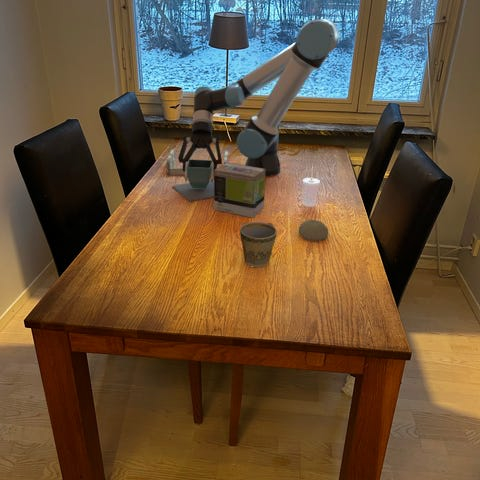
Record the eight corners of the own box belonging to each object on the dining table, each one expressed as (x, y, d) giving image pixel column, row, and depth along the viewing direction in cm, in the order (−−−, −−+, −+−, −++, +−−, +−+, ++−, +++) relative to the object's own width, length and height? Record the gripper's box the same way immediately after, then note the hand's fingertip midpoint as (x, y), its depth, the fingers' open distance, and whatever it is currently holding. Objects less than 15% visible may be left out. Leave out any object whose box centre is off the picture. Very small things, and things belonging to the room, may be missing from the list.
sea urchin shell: (311, 241, 138) (302, 216, 140) (299, 249, 145) (291, 225, 147) (336, 235, 142) (327, 211, 143) (323, 243, 149) (315, 220, 150)
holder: (172, 161, 204) (171, 148, 201) (227, 163, 204) (228, 150, 202) (167, 174, 190) (166, 160, 187) (226, 176, 190) (226, 162, 187)
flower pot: (210, 191, 171) (210, 167, 166) (186, 190, 171) (186, 166, 166) (212, 182, 178) (212, 160, 174) (189, 181, 178) (189, 159, 174)
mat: (228, 194, 173) (228, 193, 172) (189, 202, 165) (189, 200, 165) (209, 180, 185) (209, 179, 185) (172, 187, 178) (172, 185, 177)
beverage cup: (320, 204, 167) (325, 167, 161) (310, 208, 163) (315, 171, 157) (306, 199, 171) (310, 162, 165) (296, 203, 167) (300, 166, 161)
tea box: (264, 208, 163) (266, 168, 156) (253, 219, 155) (255, 177, 148) (226, 200, 168) (226, 161, 161) (213, 210, 160) (213, 169, 153)
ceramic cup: (263, 275, 124) (265, 242, 119) (231, 264, 128) (232, 231, 124) (285, 255, 134) (288, 224, 129) (255, 245, 138) (257, 215, 133)
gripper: (230, 131, 180) (228, 185, 173) (175, 129, 180) (170, 182, 173) (230, 121, 173) (228, 176, 166) (172, 119, 173) (168, 174, 166)
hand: (199, 179), depth 170 cm, fingers closed on flower pot, 9 cm apart
